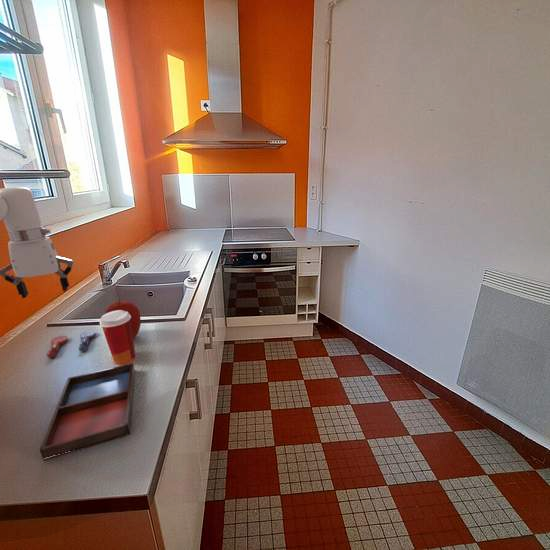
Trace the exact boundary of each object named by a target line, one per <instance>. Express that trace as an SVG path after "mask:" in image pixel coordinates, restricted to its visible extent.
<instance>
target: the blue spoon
mask: <svg viewBox="0 0 550 550" xmlns="http://www.w3.org/2000/svg"><path fill="white" fill-rule="evenodd" d="M96 336H97V332H96V330H94V329H90V330H86V331H83V332H82V333H80V335H79V338H80V340H81V341H80V344H79V346H78V351H79V352H81V353H84V352H86V351H87V349H88V345H89V342H90V340H92V339H94V338H96Z"/></svg>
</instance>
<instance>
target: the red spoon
mask: <svg viewBox="0 0 550 550" xmlns="http://www.w3.org/2000/svg"><path fill="white" fill-rule="evenodd" d="M68 341H69V338H68V336H67V335H65V334H63V335H57V336H55V337H53V338H52V339H51V340H50V344H51V346H50V347H49V349H48V352H47V353H46V357H47V358H48V359H53V358H55V356H56V355H57V353H58V351H59V349H60V346H62V345H64V344H66V343H68Z"/></svg>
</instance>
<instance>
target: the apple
mask: <svg viewBox="0 0 550 550" xmlns="http://www.w3.org/2000/svg"><path fill="white" fill-rule="evenodd" d="M116 310H122V311H126V312H128V313H129V314H130V315H131V319H130V322H131V328H132V335H133V339H134V338H135V337H136V336H138V334H139V333H140V329H141V324H142V320H141V311H140V310H139V308H138V306H137V305H136V304H135V303H133V302H132V301H129V300H120V299H119V298H118V299H117V301H115V302H112V303H110V304H108V307H107V308H106V309H105V311H104V315H105V314H106V313H109V312H112V311H116Z"/></svg>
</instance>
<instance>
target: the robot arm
mask: <svg viewBox="0 0 550 550" xmlns="http://www.w3.org/2000/svg"><path fill="white" fill-rule="evenodd" d="M2 220H3V223H4V226H5V229H6V231H7V234H8V237H9V240H10V241H8V243H7V244H8V245H7V246H8V253H9V258H10V263H9V264H7V265H6V266H4V267H2V268H1V269H0V276H1V277H2V278H3V279H4V280H5V281H6V282H9V283H11V284H13V285H14V286H15V287H16V290H17V292H18V295H19V296H21V298H22V299H26V298H27V297H28V295H29V291H28V289H27V286H26V283H25V281H23V279H24V278H31V277H38V276H45V275H51V274H54V275H57V276H59V277H60V278H59V282H60V284H61V285H60V286H61V288H62V291H63V292H67V290H68V288H70V283H69V279H68V275H69V274H70V272H71V271H72V269H73V266H74V263H75V261H74V259H70V258H66V257H62V256H60V255H58V252H57V250H56V247H55V245H54V243H53V241H52V239H51V238H50V236H47V235H48V234H51V233H52V231H51V229H50V228H47V227H46V228H45V227H44V226H43V224H42V221H41V217H40V214H39V210H38V208H37V204H36V200H35V197H34V194H33V192H32V190H31V188H28V187H24V186H20V187H19V186H17V187H16V186H15V187H13V186H12V187H2V188H0V221H2ZM62 264H64V265H66V268H65V269H63V268H61V267H62ZM9 271H13V273H14V275H15V276H14V275H12V274H10V273H9Z"/></svg>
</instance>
